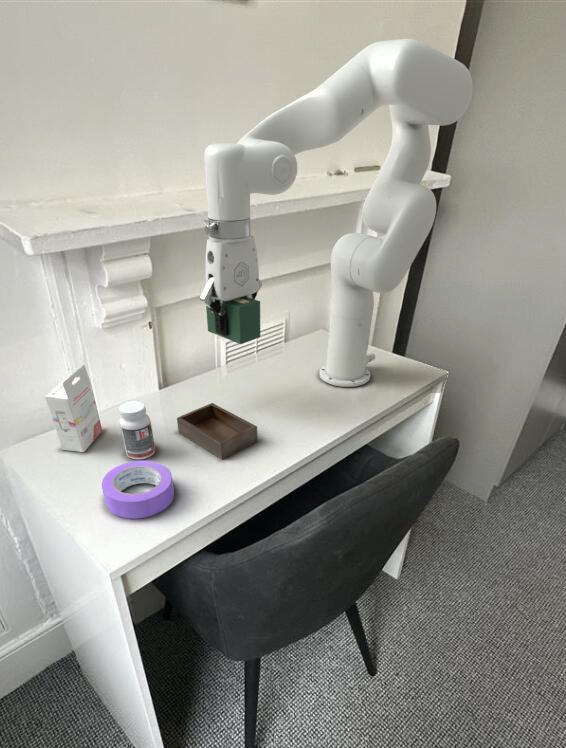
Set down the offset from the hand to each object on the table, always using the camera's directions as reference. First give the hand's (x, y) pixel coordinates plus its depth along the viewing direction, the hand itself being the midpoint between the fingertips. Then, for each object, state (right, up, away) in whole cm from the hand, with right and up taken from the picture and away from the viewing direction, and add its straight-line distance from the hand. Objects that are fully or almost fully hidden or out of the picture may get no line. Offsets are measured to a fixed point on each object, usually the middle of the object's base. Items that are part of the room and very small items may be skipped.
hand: (233, 329), depth 100 cm
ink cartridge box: (-31, -23, 0) cm, 38 cm away
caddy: (-3, -22, +1) cm, 22 cm away
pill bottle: (-18, -26, -3) cm, 31 cm away
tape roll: (-15, -35, -14) cm, 40 cm away
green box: (0, -1, +1) cm, 1 cm away
